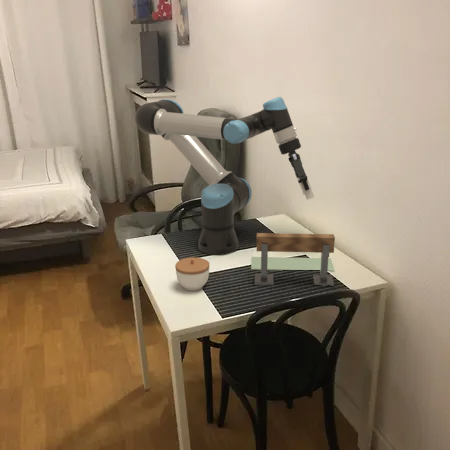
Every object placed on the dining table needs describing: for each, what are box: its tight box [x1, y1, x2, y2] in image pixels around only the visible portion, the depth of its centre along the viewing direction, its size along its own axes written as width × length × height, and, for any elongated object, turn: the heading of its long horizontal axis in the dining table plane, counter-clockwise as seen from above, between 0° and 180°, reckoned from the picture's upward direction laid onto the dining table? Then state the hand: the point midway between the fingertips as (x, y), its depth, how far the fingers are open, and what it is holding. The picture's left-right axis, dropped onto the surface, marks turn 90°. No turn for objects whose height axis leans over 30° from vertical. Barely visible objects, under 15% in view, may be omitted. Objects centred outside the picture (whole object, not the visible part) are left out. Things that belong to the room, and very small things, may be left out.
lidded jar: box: [174, 256, 210, 292], centre depth 156 cm, size 11×11×9 cm
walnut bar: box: [256, 232, 336, 254], centre depth 155 cm, size 24×3×5 cm, turn 85°
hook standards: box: [254, 243, 335, 287], centre depth 158 cm, size 25×6×14 cm, turn 85°
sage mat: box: [250, 256, 335, 272], centre depth 172 cm, size 28×10×1 cm, turn 85°
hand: (308, 196), depth 179 cm, fingers open, 13 cm apart
